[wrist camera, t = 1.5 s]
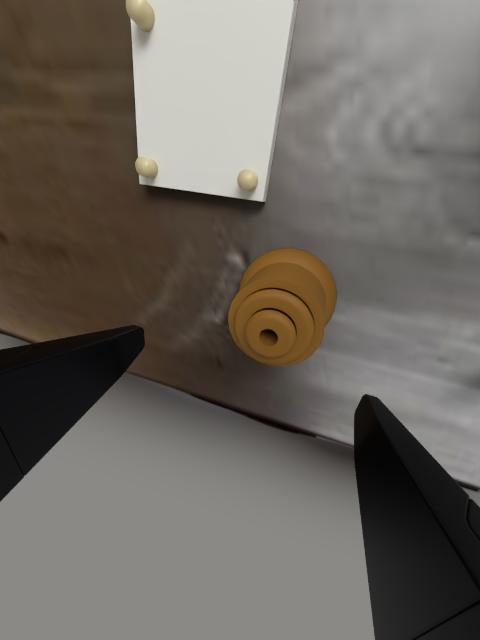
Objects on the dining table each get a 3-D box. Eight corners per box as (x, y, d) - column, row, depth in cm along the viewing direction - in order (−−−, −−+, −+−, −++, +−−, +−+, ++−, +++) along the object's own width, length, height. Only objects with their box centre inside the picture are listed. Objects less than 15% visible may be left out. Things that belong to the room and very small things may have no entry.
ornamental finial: (227, 290, 21) (288, 224, 17) (285, 348, 22) (357, 295, 18) (181, 329, 14) (267, 232, 10) (268, 412, 15) (380, 348, 11)
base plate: (298, -3, 13) (295, -37, 11) (265, 202, 17) (259, 201, 15) (140, 4, 15) (116, -24, 13) (147, 184, 19) (130, 182, 18)
